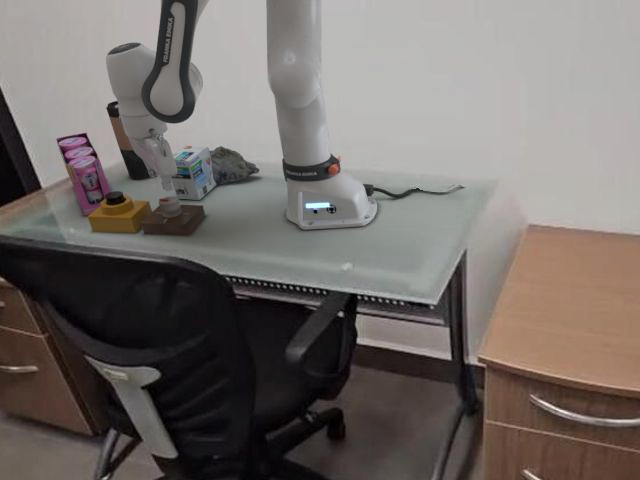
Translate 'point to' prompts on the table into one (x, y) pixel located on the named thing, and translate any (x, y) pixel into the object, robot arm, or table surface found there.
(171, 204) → the knob
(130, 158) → the travel mug
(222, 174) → the mineral rock
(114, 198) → the button
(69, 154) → the gum box
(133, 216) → the control box
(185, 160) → the light bulb box
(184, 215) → the dial panel
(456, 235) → the table surface
